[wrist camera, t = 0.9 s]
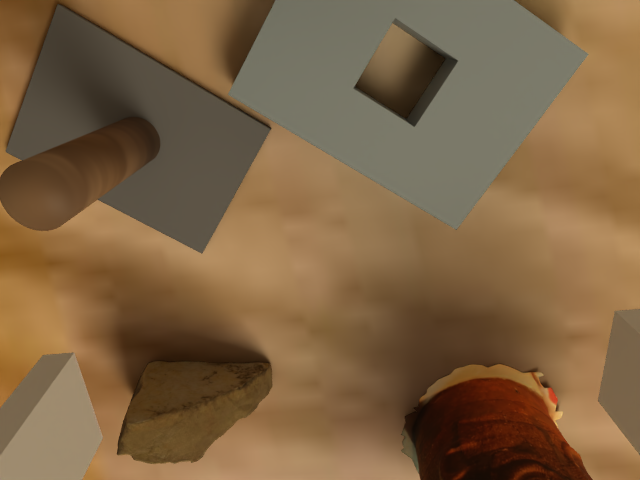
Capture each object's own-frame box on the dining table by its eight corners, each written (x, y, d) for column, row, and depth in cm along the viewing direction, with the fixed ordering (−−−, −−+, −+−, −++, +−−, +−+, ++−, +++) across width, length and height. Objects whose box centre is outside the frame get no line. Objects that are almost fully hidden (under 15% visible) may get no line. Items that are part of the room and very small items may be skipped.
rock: (298, 356, 35) (160, 316, 33) (274, 487, 31) (113, 455, 28) (254, 382, 44) (142, 353, 41) (230, 487, 40) (104, 463, 37)
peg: (105, 148, 32) (-11, 209, 21) (123, 107, 31) (10, 147, 20) (149, 172, 32) (58, 243, 21) (167, 132, 31) (83, 184, 20)
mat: (9, 150, 32) (5, 151, 32) (61, 4, 29) (57, 4, 28) (203, 251, 35) (202, 253, 34) (271, 128, 31) (270, 129, 31)
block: (236, 89, 31) (227, 94, 28) (337, -110, 27) (339, -127, 24) (445, 214, 34) (456, 229, 31) (563, 52, 30) (588, 54, 27)
